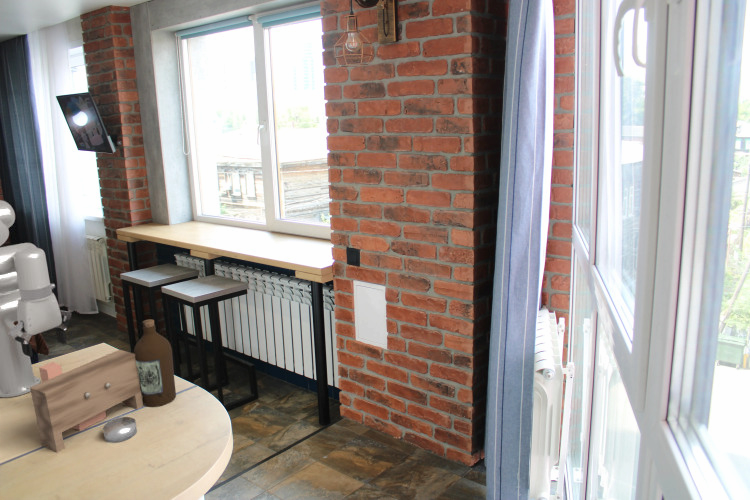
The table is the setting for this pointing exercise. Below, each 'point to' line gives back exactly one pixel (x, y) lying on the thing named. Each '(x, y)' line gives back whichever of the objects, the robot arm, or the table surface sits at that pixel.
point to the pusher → (55, 370)
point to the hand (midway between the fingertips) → (45, 348)
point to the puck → (119, 429)
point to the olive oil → (155, 367)
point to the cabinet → (84, 395)
